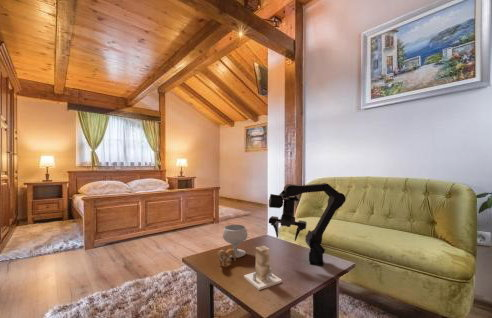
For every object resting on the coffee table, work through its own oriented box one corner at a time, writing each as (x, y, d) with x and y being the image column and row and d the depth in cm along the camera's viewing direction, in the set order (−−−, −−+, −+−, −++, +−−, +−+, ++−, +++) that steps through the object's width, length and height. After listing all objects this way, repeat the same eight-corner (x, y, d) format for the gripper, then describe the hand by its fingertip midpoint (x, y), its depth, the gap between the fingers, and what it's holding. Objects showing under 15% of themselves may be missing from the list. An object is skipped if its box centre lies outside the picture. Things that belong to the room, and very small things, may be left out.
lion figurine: (224, 271, 112) (224, 252, 112) (214, 269, 114) (214, 250, 114) (238, 259, 125) (238, 242, 125) (229, 257, 127) (229, 241, 127)
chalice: (247, 259, 125) (247, 231, 125) (221, 259, 125) (221, 231, 125) (247, 249, 139) (247, 224, 139) (224, 249, 139) (224, 223, 139)
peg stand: (265, 271, 112) (265, 262, 112) (281, 282, 101) (281, 273, 101) (244, 277, 106) (244, 268, 106) (258, 290, 95) (258, 280, 95)
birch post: (263, 274, 107) (263, 245, 107) (269, 278, 103) (269, 248, 103) (255, 276, 104) (255, 247, 104) (261, 281, 100) (261, 250, 100)
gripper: (267, 208, 116) (264, 240, 116) (306, 214, 110) (303, 247, 109) (272, 205, 126) (269, 234, 126) (307, 210, 120) (305, 240, 120)
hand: (286, 239), depth 120 cm, fingers open, 9 cm apart
